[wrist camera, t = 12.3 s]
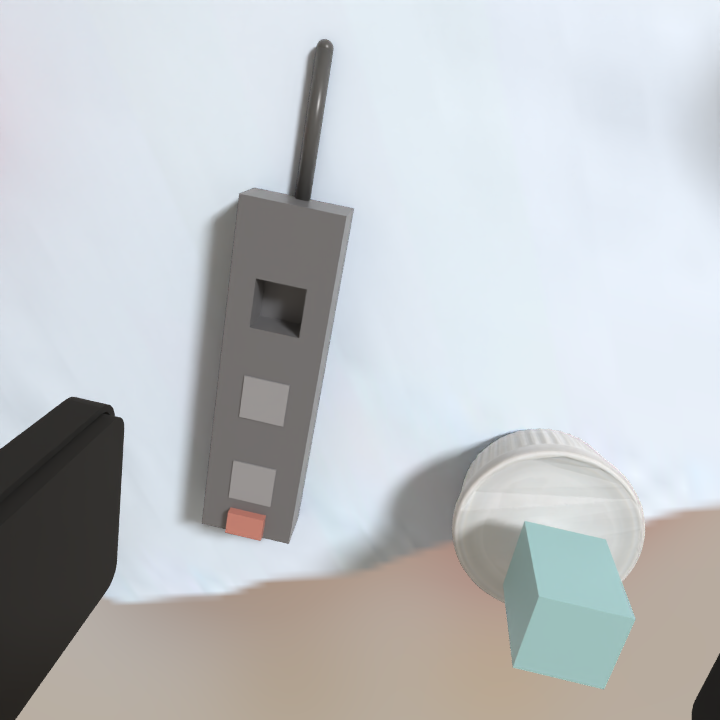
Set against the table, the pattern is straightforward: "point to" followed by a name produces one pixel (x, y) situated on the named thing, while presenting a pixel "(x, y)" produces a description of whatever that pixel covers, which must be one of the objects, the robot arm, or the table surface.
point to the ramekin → (541, 502)
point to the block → (565, 605)
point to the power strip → (275, 343)
